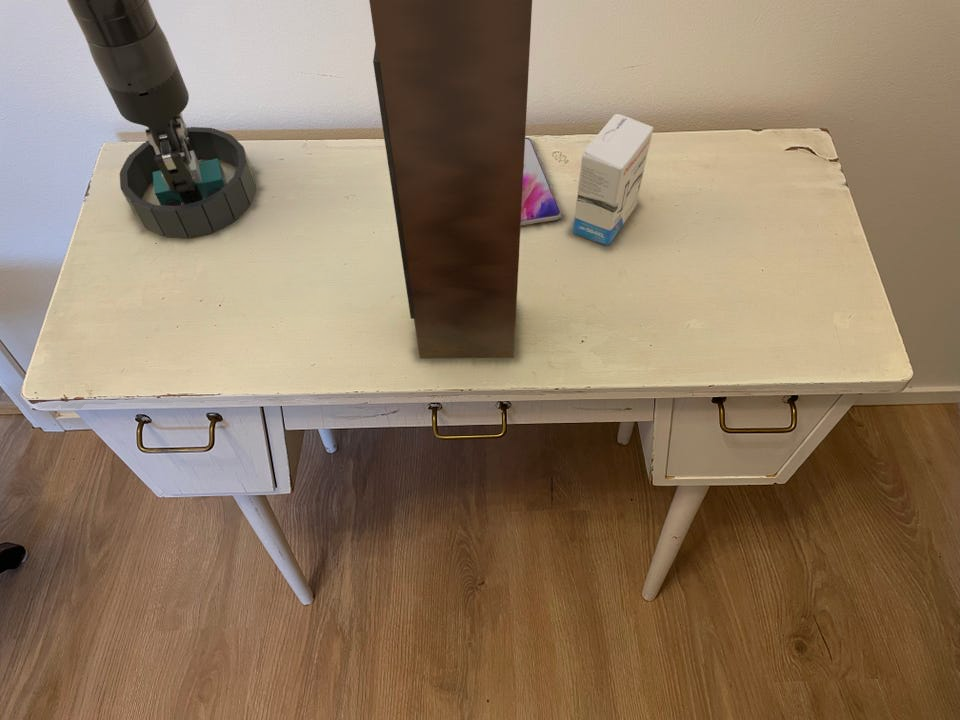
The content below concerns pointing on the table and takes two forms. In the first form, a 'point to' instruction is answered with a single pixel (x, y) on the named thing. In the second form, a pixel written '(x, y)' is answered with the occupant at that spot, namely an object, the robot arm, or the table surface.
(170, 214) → the segmented grey ring
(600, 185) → the ink box
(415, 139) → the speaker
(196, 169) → the toy car
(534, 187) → the smartphone
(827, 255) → the table surface
